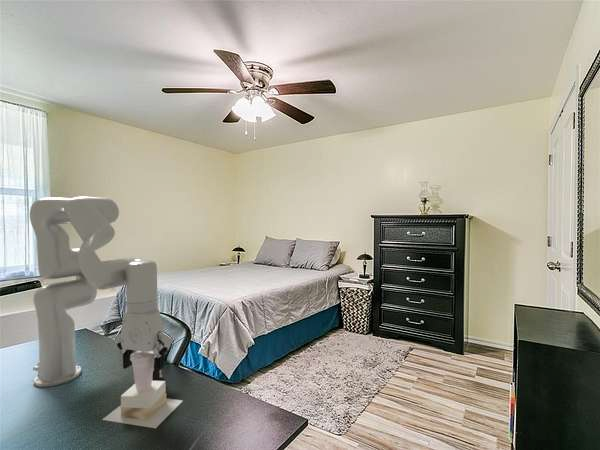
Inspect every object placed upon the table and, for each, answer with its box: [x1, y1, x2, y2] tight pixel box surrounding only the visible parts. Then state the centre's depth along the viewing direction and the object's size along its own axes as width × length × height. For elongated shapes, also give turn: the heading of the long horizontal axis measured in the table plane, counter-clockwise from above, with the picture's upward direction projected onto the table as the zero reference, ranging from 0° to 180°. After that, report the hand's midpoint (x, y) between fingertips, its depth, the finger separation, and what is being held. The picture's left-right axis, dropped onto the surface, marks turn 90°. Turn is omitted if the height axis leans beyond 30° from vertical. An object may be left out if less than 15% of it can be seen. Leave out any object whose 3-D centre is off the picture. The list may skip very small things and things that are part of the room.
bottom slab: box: [121, 391, 167, 421], centre depth 86 cm, size 8×8×3 cm
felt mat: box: [101, 397, 183, 429], centre depth 86 cm, size 16×12×1 cm
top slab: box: [120, 380, 167, 408], centre depth 86 cm, size 8×8×3 cm
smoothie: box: [130, 350, 155, 392], centre depth 86 cm, size 6×6×14 cm
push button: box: [152, 356, 166, 382], centre depth 97 cm, size 7×5×10 cm
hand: (143, 368), depth 86 cm, fingers open, 9 cm apart
